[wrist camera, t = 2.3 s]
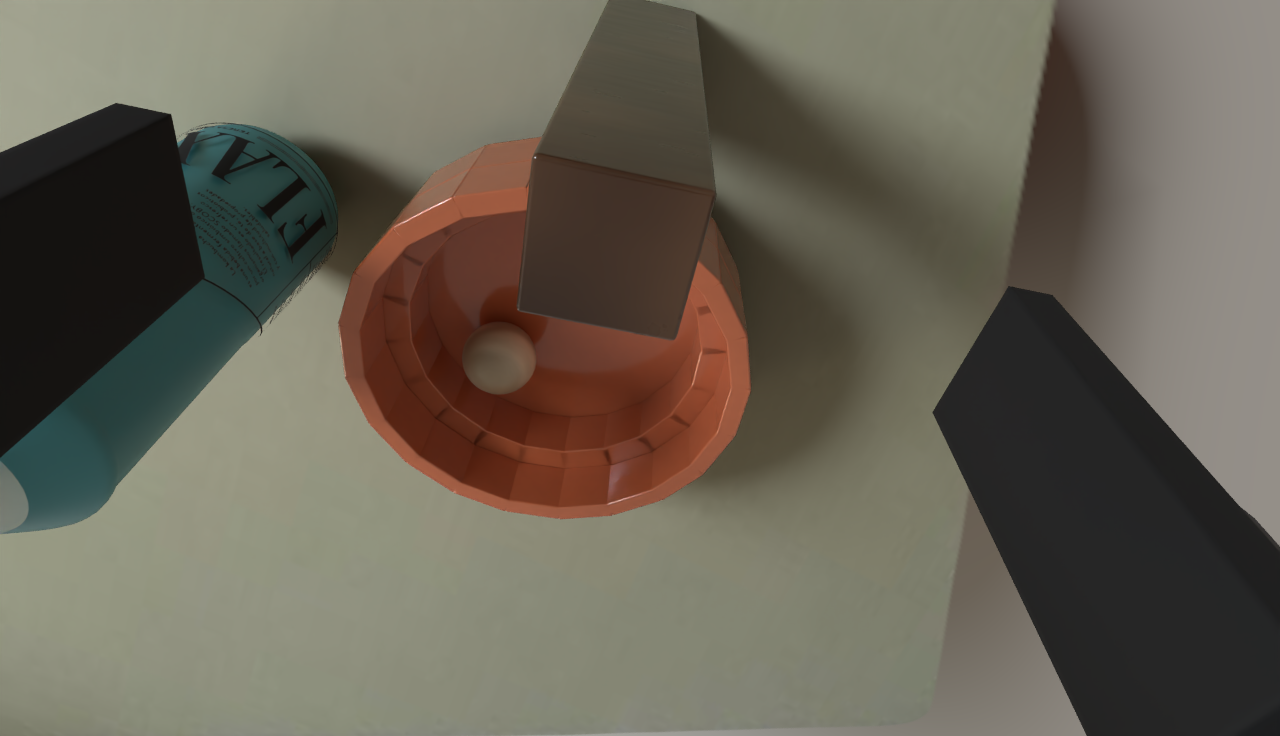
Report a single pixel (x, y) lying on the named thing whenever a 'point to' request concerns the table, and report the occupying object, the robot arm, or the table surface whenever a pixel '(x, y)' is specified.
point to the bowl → (565, 367)
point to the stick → (622, 179)
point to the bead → (499, 358)
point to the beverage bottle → (181, 324)
